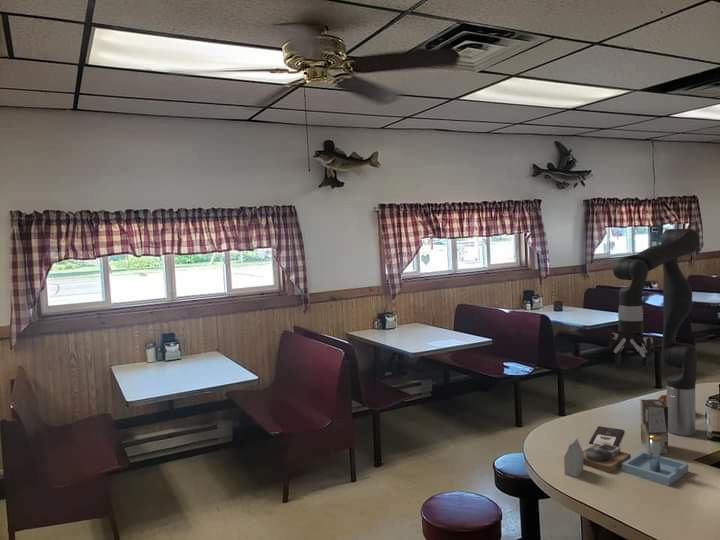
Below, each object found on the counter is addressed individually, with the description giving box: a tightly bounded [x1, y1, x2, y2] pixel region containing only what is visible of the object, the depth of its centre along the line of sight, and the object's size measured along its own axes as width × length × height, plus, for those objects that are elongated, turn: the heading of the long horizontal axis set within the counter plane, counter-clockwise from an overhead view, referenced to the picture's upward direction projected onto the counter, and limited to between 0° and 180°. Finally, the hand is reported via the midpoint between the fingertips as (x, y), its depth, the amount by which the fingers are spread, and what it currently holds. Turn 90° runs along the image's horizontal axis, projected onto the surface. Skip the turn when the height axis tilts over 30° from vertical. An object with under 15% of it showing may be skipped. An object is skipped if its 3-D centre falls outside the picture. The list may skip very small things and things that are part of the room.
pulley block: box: [583, 443, 632, 474], centre depth 183 cm, size 14×12×5 cm
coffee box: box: [640, 398, 669, 455], centre depth 191 cm, size 9×6×16 cm
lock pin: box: [649, 434, 662, 472], centre depth 173 cm, size 3×3×11 cm
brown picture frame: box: [588, 425, 625, 447], centre depth 203 cm, size 9×1×18 cm
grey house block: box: [563, 438, 584, 478], centre depth 176 cm, size 4×7×10 cm, turn 141°
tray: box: [621, 450, 689, 487], centre depth 174 cm, size 14×14×2 cm
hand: (631, 365), depth 187 cm, fingers open, 8 cm apart
